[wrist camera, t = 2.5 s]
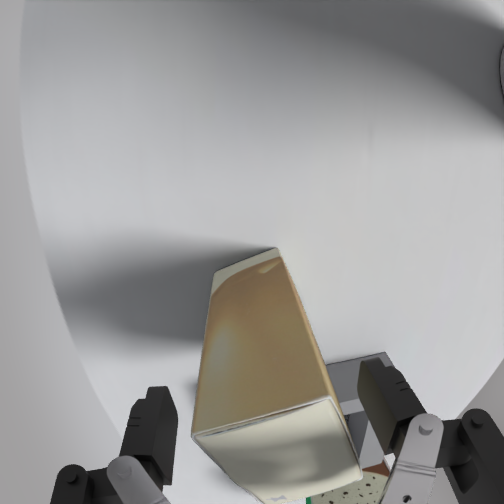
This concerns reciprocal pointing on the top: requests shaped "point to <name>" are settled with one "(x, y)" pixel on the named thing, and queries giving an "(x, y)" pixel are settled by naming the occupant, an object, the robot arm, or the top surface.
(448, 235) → the top surface
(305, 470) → the skincare box
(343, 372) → the socket block
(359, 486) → the food container
